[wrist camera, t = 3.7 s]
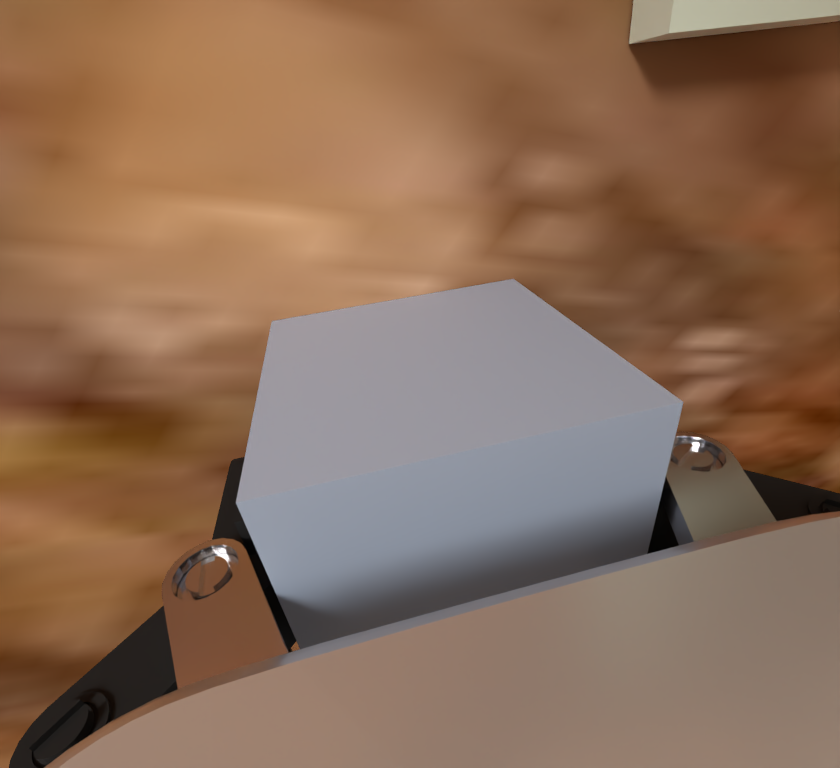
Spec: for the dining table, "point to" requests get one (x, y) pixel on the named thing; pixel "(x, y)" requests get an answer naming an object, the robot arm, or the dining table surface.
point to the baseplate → (723, 17)
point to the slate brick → (445, 456)
